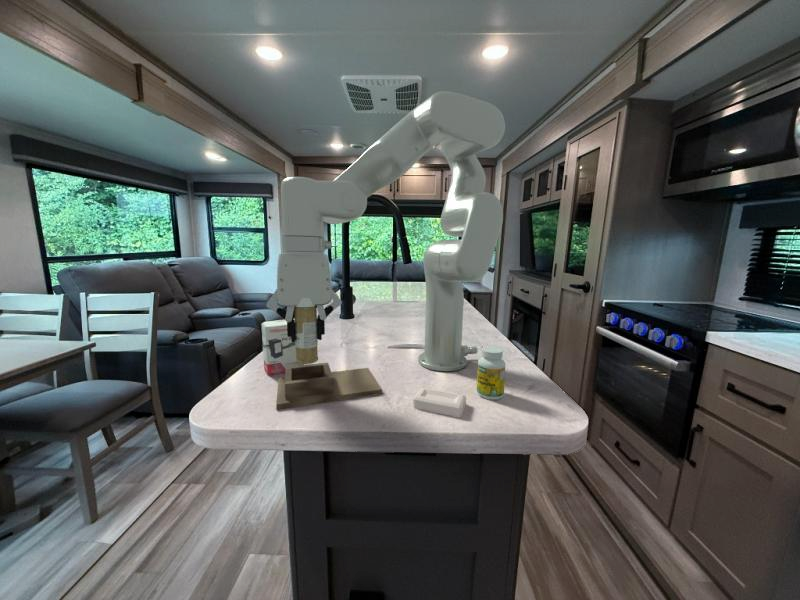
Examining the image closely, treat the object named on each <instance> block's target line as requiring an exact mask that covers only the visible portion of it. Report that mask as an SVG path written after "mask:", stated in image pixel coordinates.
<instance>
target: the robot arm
mask: <svg viewBox="0 0 800 600" xmlns="http://www.w3.org/2000/svg"><path fill="white" fill-rule="evenodd" d="M505 131H506V121H505V117H504V115H503V113H502V111H501V110H500V109H499V108H498V107H496V105H494V104H493V103H490V102H488V101H485V100H481V99H478V98H475V97H472V96H469V95H466V94H463V93H458V92H454V91H448V90H447V91H446V90H441V91H437V92H435V93H433V94H432V95H431V96H429V97H428V98H427V99H426V100H424V101H423V102H422V103H420V104H419V105H417V106H416V107H414V108H413V109H412V110H410V112H408V113H407V114H406V115H405V116H404V117H402V119H400V120H399V121H398V122H397V123H395V124H394V125H393V126H392V127H391V128H390V129H389V130H388V131H387V132H386V133H385V134H383V135H382V136H381V137H380V138H378V139H377V140H376V141H375V142H374V143H373V144H372V145H371V146H370V147H368V149H366V151H364V152H363V153H362V154H361V156H359V158H357V159H356V161H354V162H353V163H352V164H351V165H350V166H349V167H348V168H347V169H345V170H343V172H341V173H340V175H338V176H337V177H336V178H335V179H334V180H316V179H315V178H310V177H304V176H288V177H286V178H284V179H283V180H282V181H281V183H280V202H281V203H280V206H281V231H282V253H279V254H278V259H277V268H276V269H277V270H276V271H277V273H276V289H275V290H274V292H273V294H272V295H271V297H269V300H268V301H267V302H266V303H265V304H266V305H265V306H266V308H268V309H270V310H271V311H273V312H275V313H276V314H277V315H279V317H281V318H282V320H285V321H286V322H287V336H288V337H291V341H292V342H294V341H295V320H294V319H295V318H294V316H293V315H294V307H295V306H298V305H299V303H300V300H301V299H303V298H309V299H311V302H312V304H313V305H315V306H317V308H316V309H317V335H318V341H321V340H322V339H323V338H322V337H323V335H325V334H326V329H325V327H326V326H325V325H326V324H325V322H326V321H325V320H327V317H329V316H330V314H331V313H333V311H334V310H336V309H337V308H338V307H340V306H341V305H342V303H343V301H342V300H341V299H340V297H339V296H338V295H337V293H336V292H335V290H334V289H333V288H332V287H333V285H332V273H331V272H332V271H331V266H330V260H329V256H328V254H325V251H326V250H328V249H332V248H333V247H332V244H333V243H332V241H328V240H326V239H325V238H324V237H325V236H324V235H325V232H324V231H325V227H324V225H325V224H324V222H325V223H326V224H330V225H339V224H345V223H348V222H353V221H356V220H357V219H360V217H362V215H363V214H364V213H365V212H366V209H367V205H368V198H369V197H371V196H372V195H374V194H375V193H377V192H378V191H380V190H382V189H385V188H386V187H388V186H389V185H392V184H393V183H394V182H396V181H397V180H398V179H400V178H401V177H403V176H404V175H405V174H406V173H407V172H408V171H409V170H410V169H411V168H412V167H413V166H414V165H415V164H416V163H417V162H419V160H421V158H422V157H424V156H425V155H426V154H427V153H428V152H429V151H430V150H431V149H433V148H434V147H435V146H436V145H438V144H440V149H441V151H442V154H443V156H444V158H445V159H446V161H447V163H448V166H449V169H450V173H451V178H450V184H449V188H448V191H447V195H446V198H445V201H444V206H443V207H442V212H441V215H440V228H441V230H442V231H443V233H444V234H445V235H447V236H450V237H458V238H459V237H460V238H461V239H442V240H438V241H434V242H433V243H431V244H430V245H429V246H428V247H427V249H426V250H425V252H424V255H423V259H422V261H423V262H422V263H423V265H422V266H423V272H424V278H425V318H424V320H425V321H424V350H423V351H424V352H422V353H420V354H419V355H418V363H419V364H420V365H421V366H422V367H424V368H426V369H429V370H433V371H439V372H454V371H460V370H462V369H464V368H465V367H466V366H467V364H468V359H467V358H466V356H468V355H476V354H478V351H479V349H478V347H477V346H470V347H468V345H467V344H465V345H462V343H463V324H464V323H463V319H464V305H465V304H464V303H465V302H464V301H465V296H464V295H465V294H464V289H463V285H462V282H468V283H470V282H471V283H472V282H473V283H474V282H477V281H479V280H481V279H482V278H483V277H484V276H485V275H486V274H487V272H488V270H489V269H490V266H491V264H492V260H493V257H494V254H495V250H496V247H497V243H498V240H499V237H500V233H501V229H502V226H503V222H504V210H503V205H502V203H501V201H500V199H499V197H497V196H496V195H495V194H493V193H490V192H486V191H485V187H486V181H487V178H486V173H485V170H484V168H483V166H482V165H481V163H480V161H479V159H478V157H477V154H479V153H482V152H484V151H486V150H487V151H488V150H489V149H491V148H494V147H495V146H496V145H498V144H499V142H500V141H501V140H502V139H503V136H504V134H505ZM277 302H278V304H277ZM326 305H327V306H326ZM325 306H326V307H325ZM284 307H286V309H285V308H284Z"/></svg>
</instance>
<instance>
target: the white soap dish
mask: <svg viewBox="0 0 800 600" xmlns="http://www.w3.org/2000/svg"><path fill="white" fill-rule="evenodd" d="M466 404H467V396H466V395H465V394H462V393H456V392H452V391H444V390H439V389H433V388H429V387H425V386H424V387H421V388H419V390H418V391H417V392H416V394H415V395H414V396H413V398H412V407H413V408H414V409H417V410H421V411H426V412H430V413H436V414H441V415H443V416H444V415H445V416H449V417H454V418H461V417H463V413H464V410H465V409H466Z"/></svg>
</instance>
